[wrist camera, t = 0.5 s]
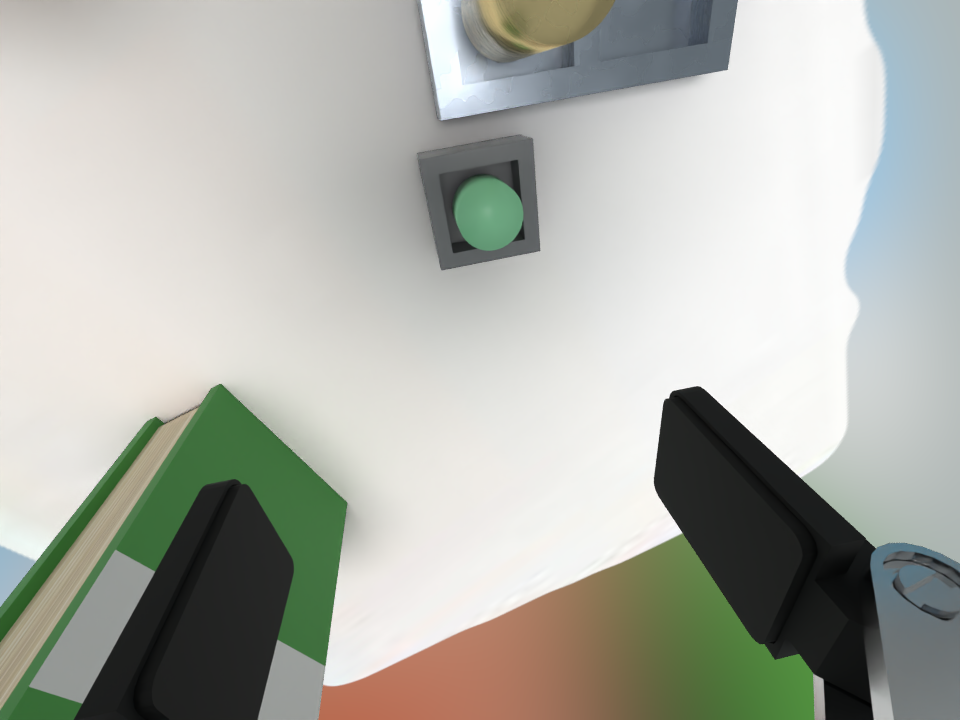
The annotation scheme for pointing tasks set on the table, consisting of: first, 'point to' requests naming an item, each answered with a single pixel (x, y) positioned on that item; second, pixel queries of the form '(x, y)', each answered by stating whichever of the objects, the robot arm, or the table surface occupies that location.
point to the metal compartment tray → (577, 55)
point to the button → (487, 212)
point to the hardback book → (142, 545)
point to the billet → (528, 25)
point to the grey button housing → (458, 163)
